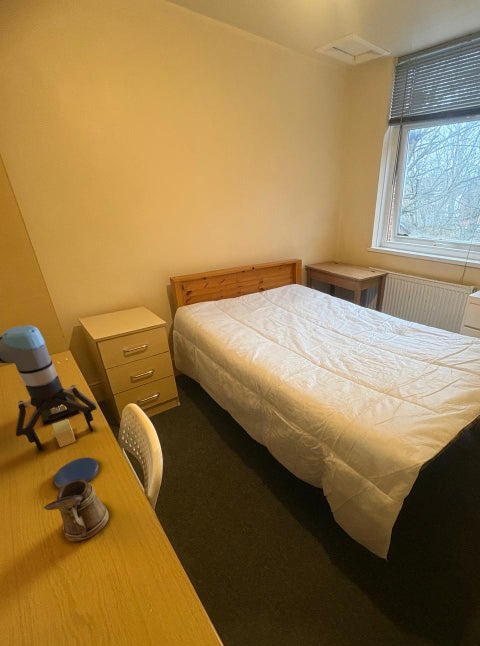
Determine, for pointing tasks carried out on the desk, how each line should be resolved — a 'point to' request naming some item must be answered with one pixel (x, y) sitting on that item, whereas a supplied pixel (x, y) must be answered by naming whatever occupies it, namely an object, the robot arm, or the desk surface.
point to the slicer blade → (58, 413)
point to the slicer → (73, 412)
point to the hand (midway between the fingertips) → (66, 438)
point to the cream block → (60, 409)
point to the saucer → (76, 471)
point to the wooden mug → (79, 510)
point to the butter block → (63, 432)
